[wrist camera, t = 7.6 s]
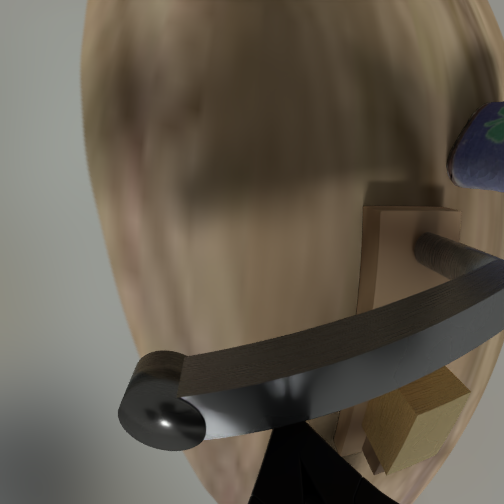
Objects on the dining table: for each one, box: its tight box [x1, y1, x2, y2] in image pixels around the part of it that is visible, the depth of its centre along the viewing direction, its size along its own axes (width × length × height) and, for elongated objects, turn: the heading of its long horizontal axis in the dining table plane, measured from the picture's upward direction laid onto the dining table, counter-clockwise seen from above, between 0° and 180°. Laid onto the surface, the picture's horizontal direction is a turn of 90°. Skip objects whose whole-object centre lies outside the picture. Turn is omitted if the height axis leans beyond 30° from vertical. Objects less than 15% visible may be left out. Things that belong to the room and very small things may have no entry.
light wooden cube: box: [361, 366, 471, 475], centre depth 14 cm, size 6×4×5 cm, turn 2°
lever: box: [118, 232, 504, 451], centre depth 10 cm, size 15×2×7 cm, turn 103°
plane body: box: [333, 206, 462, 475], centre depth 15 cm, size 19×6×5 cm, turn 2°
